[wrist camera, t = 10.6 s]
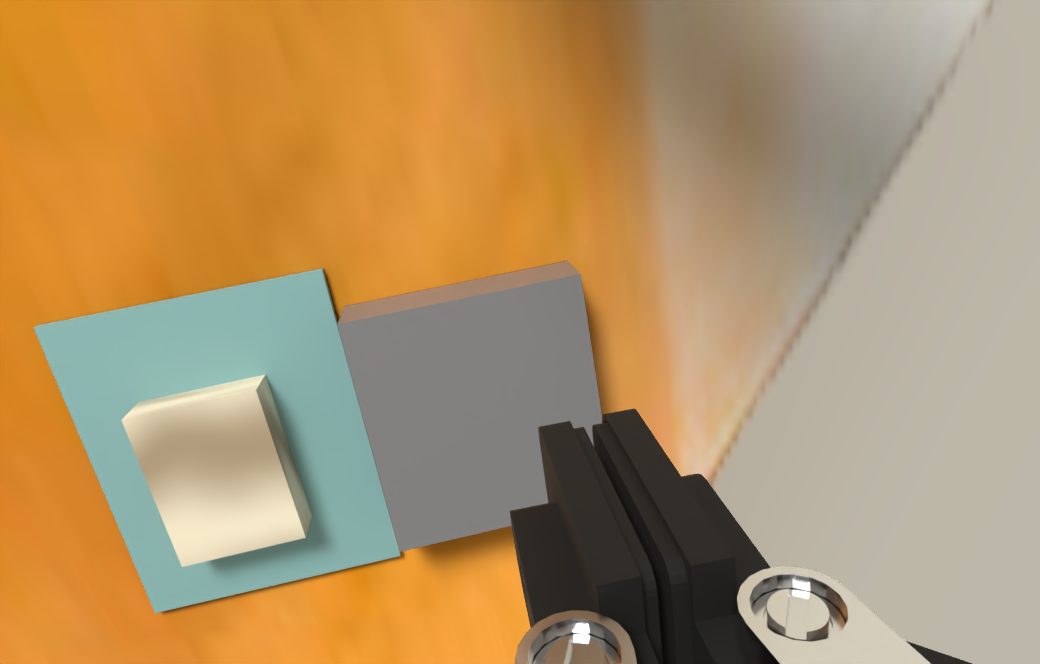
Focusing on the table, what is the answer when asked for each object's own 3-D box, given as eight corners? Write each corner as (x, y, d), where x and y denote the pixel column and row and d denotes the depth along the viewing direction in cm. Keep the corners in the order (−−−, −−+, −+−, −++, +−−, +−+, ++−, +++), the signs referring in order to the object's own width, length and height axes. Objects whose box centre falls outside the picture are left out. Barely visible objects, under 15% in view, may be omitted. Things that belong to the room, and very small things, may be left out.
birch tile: (255, 390, 31) (265, 374, 33) (121, 420, 31) (138, 402, 33) (305, 537, 34) (311, 515, 36) (182, 567, 33) (194, 542, 35)
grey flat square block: (344, 306, 33) (337, 324, 30) (567, 260, 34) (580, 274, 31) (401, 518, 37) (399, 551, 34) (600, 472, 38) (614, 501, 35)
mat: (38, 325, 31) (33, 327, 31) (323, 268, 32) (321, 270, 32) (158, 607, 36) (155, 613, 36) (400, 551, 37) (400, 555, 37)
